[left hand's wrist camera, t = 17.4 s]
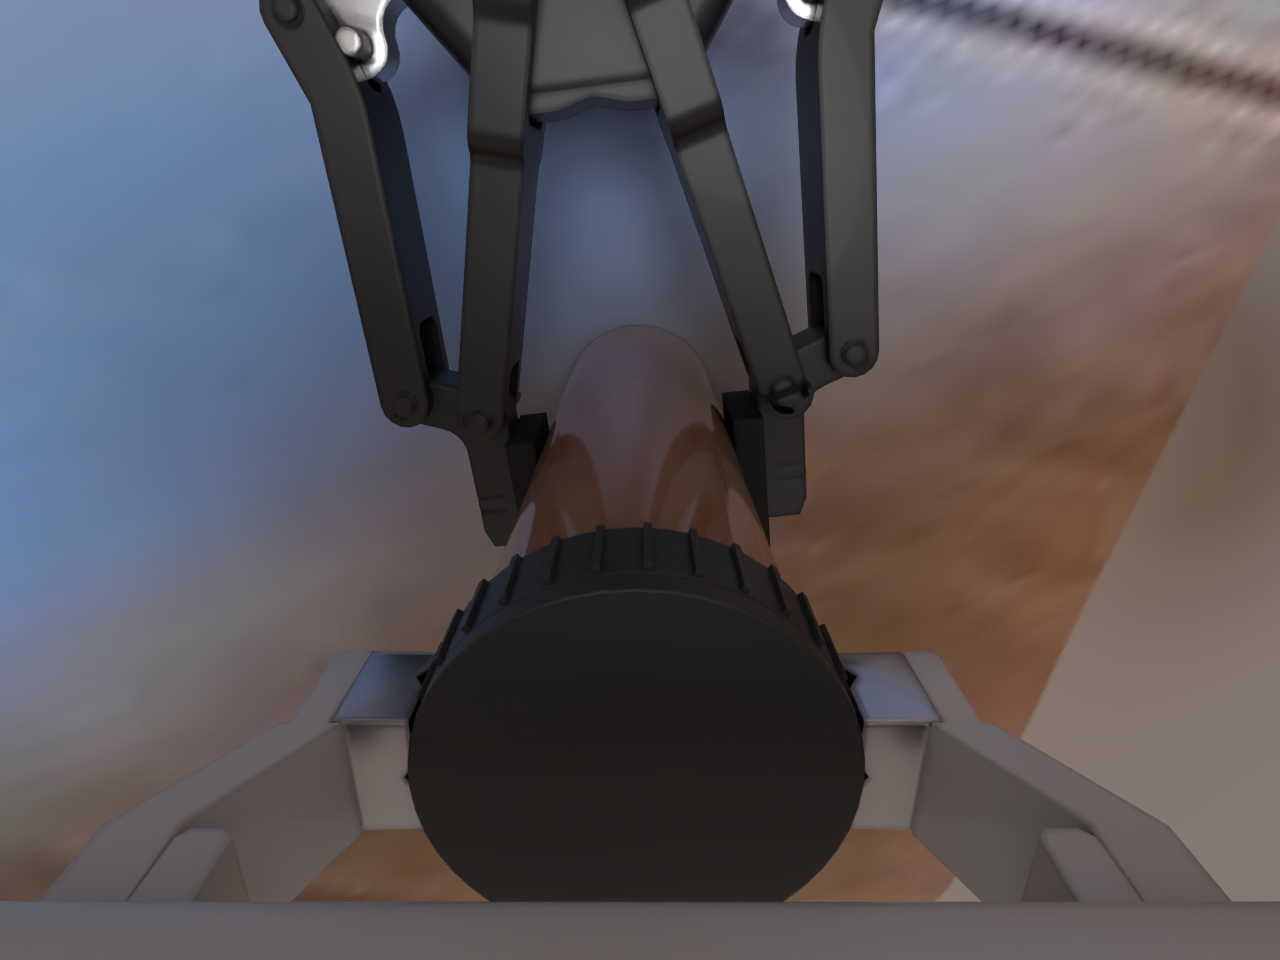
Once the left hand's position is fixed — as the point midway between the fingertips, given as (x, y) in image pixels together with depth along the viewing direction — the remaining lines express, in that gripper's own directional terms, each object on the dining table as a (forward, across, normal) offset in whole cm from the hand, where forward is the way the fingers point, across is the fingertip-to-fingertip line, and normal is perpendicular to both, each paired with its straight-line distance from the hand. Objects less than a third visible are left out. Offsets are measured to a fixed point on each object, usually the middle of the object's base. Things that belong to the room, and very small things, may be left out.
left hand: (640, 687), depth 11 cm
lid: (-2, 0, 0) cm, 2 cm away
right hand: (+10, +1, -5) cm, 11 cm away
